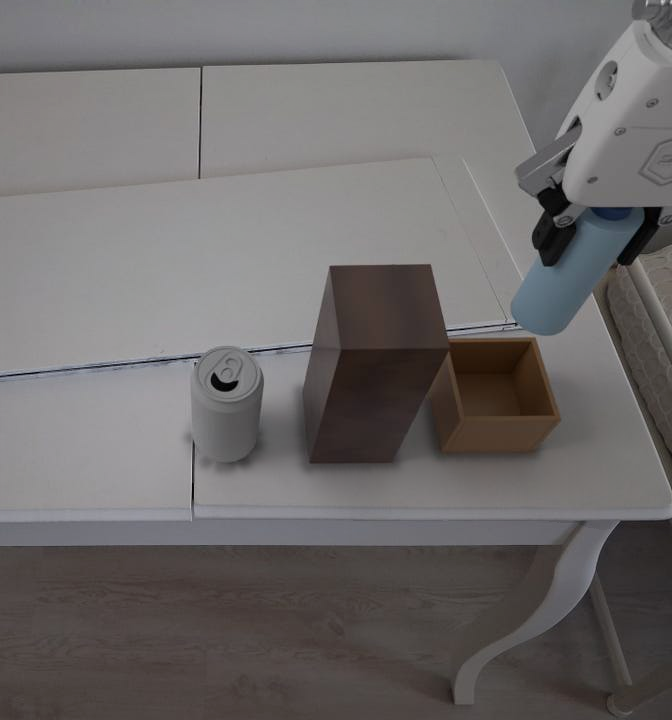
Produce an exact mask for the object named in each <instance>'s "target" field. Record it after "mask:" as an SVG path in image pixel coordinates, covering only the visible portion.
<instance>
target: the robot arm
mask: <svg viewBox="0 0 672 720" xmlns="http://www.w3.org/2000/svg"><path fill="white" fill-rule="evenodd" d="M630 11H631V12H630V13H631V17H632V18H631V19H632V20H633V21H632V22H631V23H630V24H629V26H627V28H626V29H625V30H624V31H623V33H622V34H621V35H620V37H619V38H618V39H617V40H616V42H615V43H614V44H613V45H612V47H611V48H610V50H608V52H607V53H606V55H605V56H604V58H603V59H602V61H601V62H600V63H599V65H598V66H597V67H596V69H595V70H594V72H593V73H592V75H591V76H590V78H589V79H588V81H587V82H586V84H585V85H584V87H583V89H582V90H581V92H580V94H579V95H578V97H577V98H576V100H575V101H574V103H573V105H572V106H571V107H570V110H569V112H568V113H567V115H566V117H565V119H564V121H563V122H562V124H561V125H560V128H559V130H558V131H557V134H556V136H555V138H554V141H552V142H551V143H550V144H548V145H547V146H545V147H543V148H542V149H541V150H539V151H537V153H535V154H533V155H531V156H530V157H529V158H528V159H526V160H525V161H523V162H521V163H520V164H519V165H518V166H516V167H515V168H514V170H513V174H514V177H515V180H516V183H517V185H518V187H519V189H521V190H522V191H524V192H525V193H526V194H528V195H529V196H530V197H531V198H534V199H536V200H537V201H538V204H539V205H540V206H541V207H542V209H543V212H542V214H541V216H540V218H539V219H538V222H537V223H536V225H535V226H534V228H533V231H532V233H531V243H532V246H533V249H534V250H537V252H538V255H540V258H541V261H542V264H543V266H544V267H553V266H554V265H556V263H557V262H558V260H559V259H560V257H561V255H562V254H563V252H564V251H565V249H566V247H567V246H568V244H569V243H570V241H571V240H572V238H573V236H574V235H575V233H576V230H577V229H576V225H575V223H574V221H575V220H576V219H577V218H578V217H579V216H580V215H581V214H582V213H583V212H584V211H585V210H586V209H587V208H588V207H643V208H644V212H645V217H644V221H643V223H642V225H641V226H640V227H639V229H638V230H637V231H636V233H635V234H634V236H633V237H632V238H631V240H630V241H629V242H628V244H627V245H626V247H625V248H624V249H623V251H622V252H621V253H620V255H619V256H618V257H617V259H616V260H615V261H616V262H617V264H618V265H620V266H622V267H628V266H629V267H630V266H631V265H632V264H634V262H635V261H636V260H637V258H638V256H639V255H640V254H641V253H642V251H643V250H644V249H645V248H646V246H647V245H648V244H649V243H650V241H651V240H652V238H653V237H654V236H655V235H656V233H657V232H658V230H659V228H660V227H667V226H671V225H672V0H633V2H632V4H631V10H630ZM563 169H564V170H563ZM561 170H563V171H562V172H561V173H560V174H559V175H558V176H557V177H556V179H554V178H553V176H554V175H555V174H556V173H558V172H559V171H561Z"/></svg>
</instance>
